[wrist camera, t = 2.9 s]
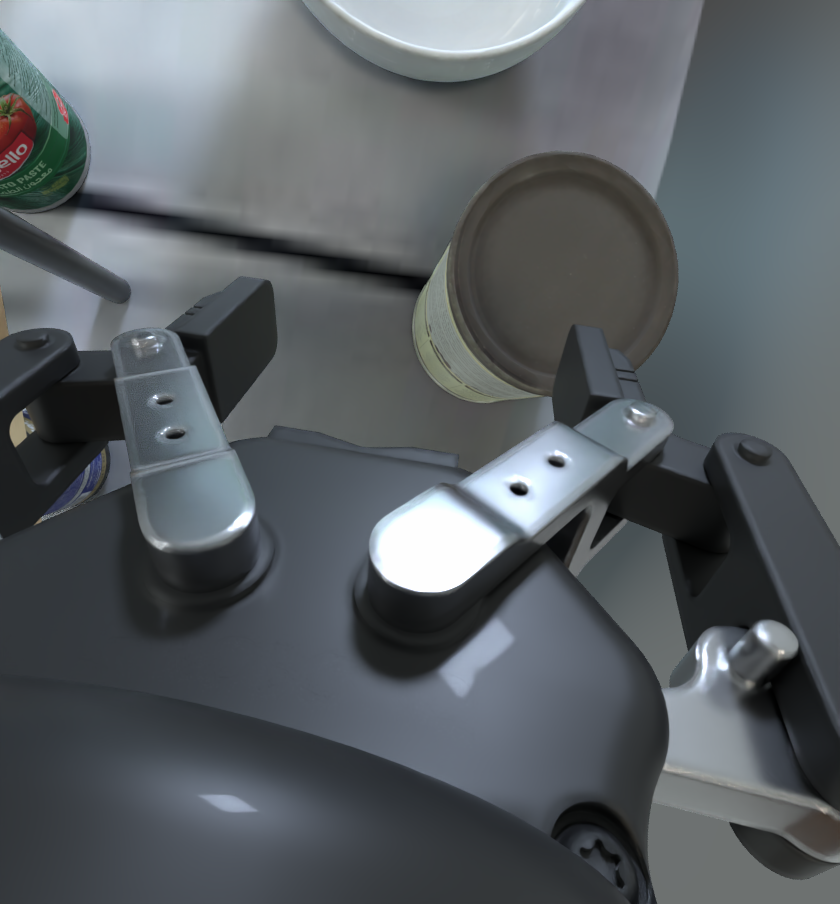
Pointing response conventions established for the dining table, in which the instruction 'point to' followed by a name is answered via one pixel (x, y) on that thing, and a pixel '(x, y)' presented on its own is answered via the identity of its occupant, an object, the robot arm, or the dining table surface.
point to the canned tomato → (37, 138)
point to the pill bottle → (79, 477)
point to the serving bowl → (444, 33)
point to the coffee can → (545, 277)
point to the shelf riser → (61, 261)
